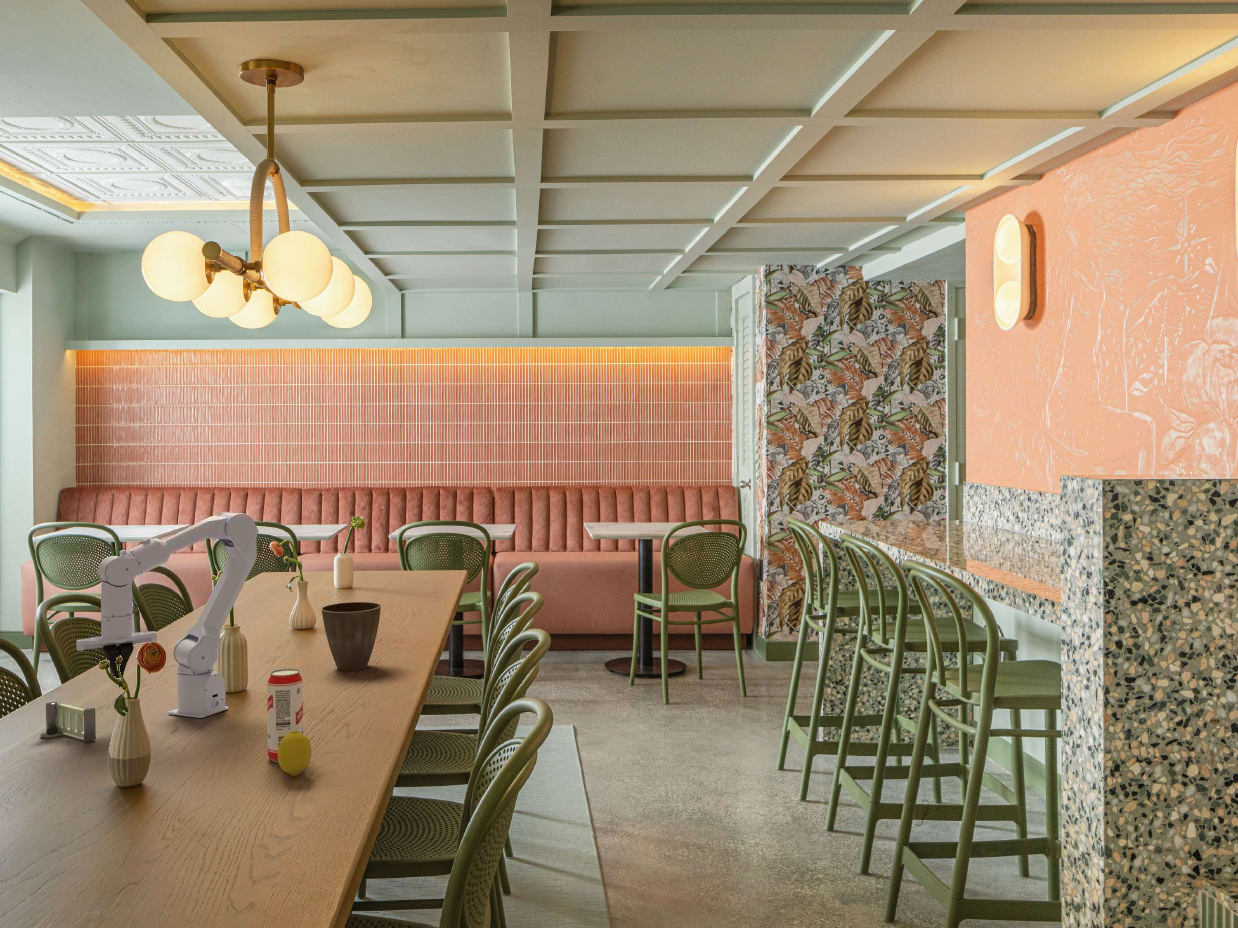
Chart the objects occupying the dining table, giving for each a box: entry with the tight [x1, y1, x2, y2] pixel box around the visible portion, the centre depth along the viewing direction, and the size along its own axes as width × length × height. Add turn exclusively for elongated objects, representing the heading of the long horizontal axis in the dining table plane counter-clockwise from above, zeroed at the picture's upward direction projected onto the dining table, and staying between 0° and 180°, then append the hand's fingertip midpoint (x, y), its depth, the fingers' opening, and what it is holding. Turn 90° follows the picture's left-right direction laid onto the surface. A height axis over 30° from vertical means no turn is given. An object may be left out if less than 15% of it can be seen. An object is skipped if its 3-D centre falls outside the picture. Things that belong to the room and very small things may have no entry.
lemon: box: [278, 730, 312, 777], centre depth 165 cm, size 6×6×8 cm
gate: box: [58, 702, 97, 742], centre depth 188 cm, size 12×2×6 cm, turn 59°
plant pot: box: [320, 601, 382, 672], centre depth 246 cm, size 15×15×16 cm
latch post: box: [39, 701, 65, 740], centre depth 189 cm, size 4×4×6 cm
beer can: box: [266, 668, 305, 764], centre depth 174 cm, size 6×6×16 cm
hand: (117, 680), depth 195 cm, fingers closed
